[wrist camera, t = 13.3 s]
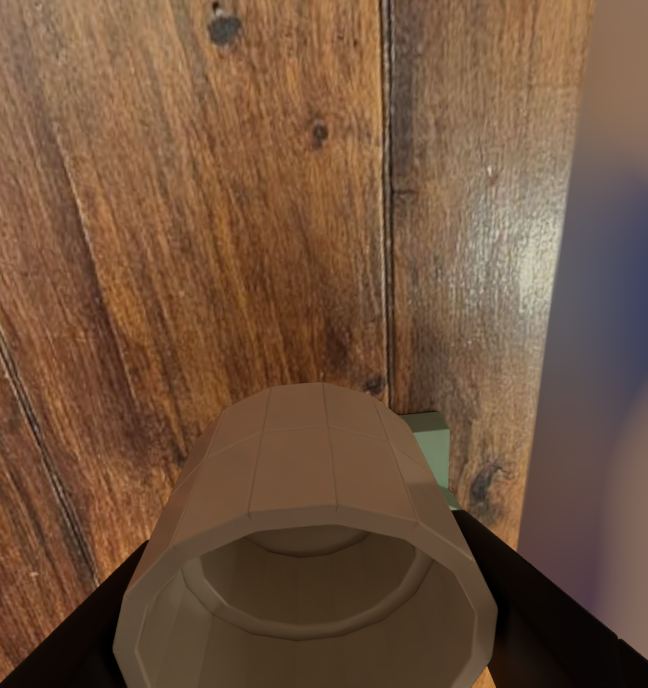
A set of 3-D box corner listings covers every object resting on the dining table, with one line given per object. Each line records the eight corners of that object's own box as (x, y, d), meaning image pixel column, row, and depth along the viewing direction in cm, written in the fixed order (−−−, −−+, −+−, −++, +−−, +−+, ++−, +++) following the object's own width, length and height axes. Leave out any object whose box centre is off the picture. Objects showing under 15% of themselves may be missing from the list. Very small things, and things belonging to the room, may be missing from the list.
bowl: (421, 363, 10) (516, 485, 5) (417, 549, 12) (482, 741, 8) (170, 385, 9) (61, 530, 5) (213, 570, 12) (162, 777, 7)
